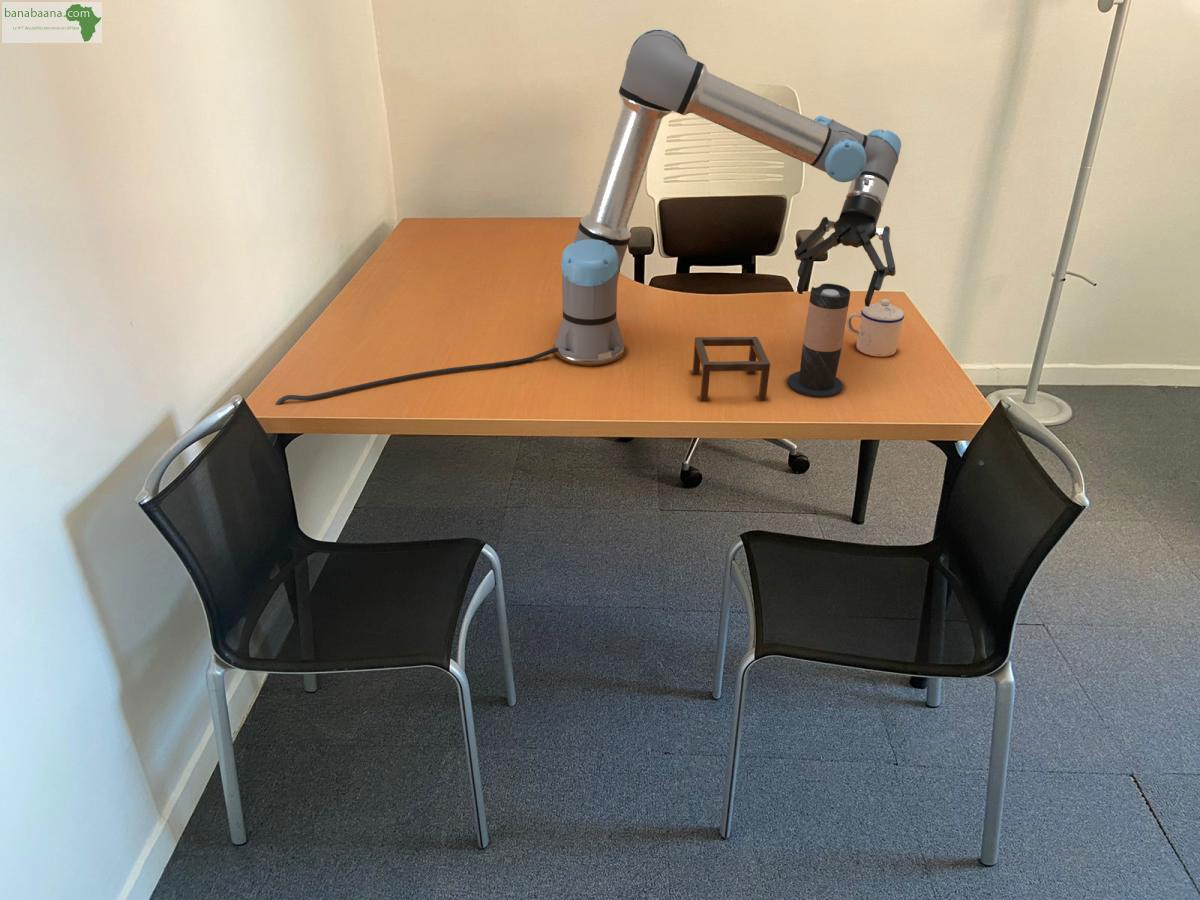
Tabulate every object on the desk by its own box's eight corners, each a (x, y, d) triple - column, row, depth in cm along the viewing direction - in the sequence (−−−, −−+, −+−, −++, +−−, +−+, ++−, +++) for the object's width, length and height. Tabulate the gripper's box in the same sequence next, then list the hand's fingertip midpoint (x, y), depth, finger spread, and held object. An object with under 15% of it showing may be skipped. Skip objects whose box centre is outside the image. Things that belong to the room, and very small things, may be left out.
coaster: (794, 397, 174) (794, 395, 173) (782, 373, 183) (782, 370, 183) (848, 397, 174) (849, 394, 174) (833, 372, 184) (834, 370, 183)
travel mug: (835, 392, 174) (851, 299, 164) (797, 388, 176) (810, 295, 165) (835, 376, 181) (850, 284, 170) (797, 372, 182) (810, 281, 172)
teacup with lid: (902, 347, 195) (912, 298, 189) (889, 361, 189) (899, 311, 183) (850, 334, 201) (859, 286, 195) (836, 348, 194) (844, 299, 188)
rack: (700, 400, 172) (703, 364, 168) (692, 371, 183) (694, 337, 179) (765, 400, 173) (770, 363, 168) (753, 371, 184) (757, 336, 180)
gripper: (801, 185, 178) (769, 277, 174) (927, 202, 168) (895, 300, 164) (805, 205, 185) (775, 294, 181) (926, 222, 175) (896, 317, 171)
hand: (832, 297), depth 173 cm, fingers open, 13 cm apart
